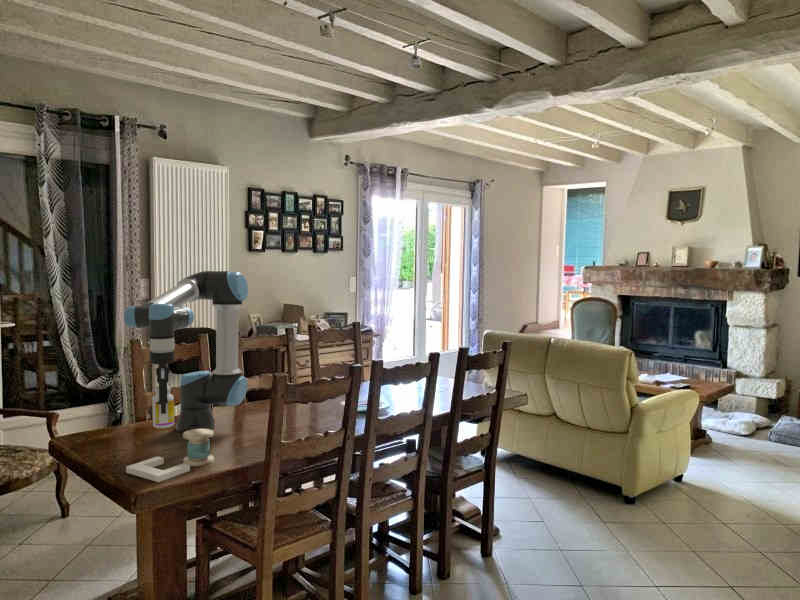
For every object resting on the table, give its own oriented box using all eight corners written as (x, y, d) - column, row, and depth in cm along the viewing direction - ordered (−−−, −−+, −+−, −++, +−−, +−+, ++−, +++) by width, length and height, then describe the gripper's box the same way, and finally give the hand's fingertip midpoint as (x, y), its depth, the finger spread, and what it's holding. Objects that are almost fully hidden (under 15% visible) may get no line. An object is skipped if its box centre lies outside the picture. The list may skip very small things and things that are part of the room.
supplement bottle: (178, 425, 196) (177, 387, 195) (158, 430, 191) (158, 390, 190) (168, 421, 201) (167, 384, 200) (149, 426, 196) (148, 387, 195)
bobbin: (200, 454, 212) (199, 427, 211) (220, 459, 207) (219, 431, 206) (176, 462, 203) (176, 433, 202) (197, 468, 198) (196, 438, 197)
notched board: (157, 462, 204) (157, 456, 203) (189, 470, 196) (189, 464, 195) (126, 472, 193) (126, 466, 193) (158, 482, 185) (158, 476, 185)
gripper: (150, 346, 202) (151, 413, 204) (149, 356, 184) (150, 429, 185) (173, 345, 205) (175, 411, 206) (175, 354, 186) (176, 427, 188)
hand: (163, 419), depth 196 cm, fingers closed on supplement bottle, 7 cm apart
